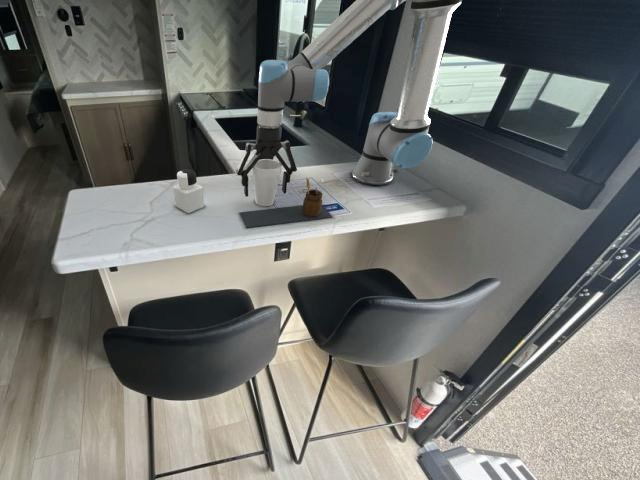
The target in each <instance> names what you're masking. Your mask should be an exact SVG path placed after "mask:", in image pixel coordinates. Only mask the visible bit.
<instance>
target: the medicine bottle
mask: <svg viewBox="0 0 640 480" xmlns="http://www.w3.org/2000/svg"><path fill="white" fill-rule="evenodd" d="M176 178H177V179H176V180H177V184H176V185H174V186H173V187H172V190H173V195H174V196H173V197H174V203H175V207H176V208H178V209H179V210H181V211H183V212H185V213H187V214H191V213H193V212H195V211H197V210H200V209H202V208H205V197H204V187H203V186H201V185H200V184H198V181H197V172H196V171H195V170H194V169H193V170H192V169H185V168H184V169H181V170H179V171H178V172H177V173H176Z"/></svg>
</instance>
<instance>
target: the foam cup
mask: <svg viewBox="0 0 640 480" xmlns="http://www.w3.org/2000/svg"><path fill="white" fill-rule="evenodd" d="M282 167H283V165H282V164H281V163H280V161H279V160H276V159H273V160H271V159H261V160H259V161H258V162H257V163H256V164H255V165H254V167H253V168H252V169H251V173H252V178H253V179H252V181H253V190H254V200H255V204H256V205H258V206H260V207H269V206H272V205H274V202H275V197H276V193H277V189H278V184H279V180H280V175H281V173H282Z"/></svg>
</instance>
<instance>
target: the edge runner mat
mask: <svg viewBox="0 0 640 480" xmlns="http://www.w3.org/2000/svg"><path fill="white" fill-rule="evenodd" d="M302 208H303V204H300V205H292V206H283V207H282V206H281V207H275V208H266V209H257V210H248V211H240V212H238V214H239V216H240V218H241V220H242V222H243V225H244V226H245V229H250V228H251V229H252V228H260V227H268V226H269V227H270V226H276V225H284V224H293V223H299V222H309V221H316V220H324V219H332V218H333V216H332V214H331V213H330V212H329V211H328V210H327V209H326V208H325V207H324V206H323V205H322V206H321V211H320V214H319V215H318V216H316V217H308V216H306V215H304V214H303V212H302Z"/></svg>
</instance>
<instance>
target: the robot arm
mask: <svg viewBox="0 0 640 480" xmlns="http://www.w3.org/2000/svg"><path fill="white" fill-rule="evenodd" d="M406 1H407V0H355V1H354V2H352V4H351V5H349V7H347V8H346V9H345V10H343V12H342V13H341V14H340V15H339V16H338V17H336V19H335V20H334V21H332V23H331V24H329V25H328V26H327V27H326V28H325V29H324V30H323V31H322V32H321V33H320V34H318V36H316V37H315V39H313V40H312V42H310V43H309V44H308V45H307V46H306V47H304V49H303V50H302V51H300V53H298V54H297V55H296V56H295V57H294V58H293V59H289V60H282V59H281V60H280V59H266V60H264V61H261V63H260V65H259V73H258V81H257V83H258V93H257V94H258V95H257V115H256V116H257V119H256V123H257V126H256V137H255V139H256V140H255V143H252V142H249V141H247V142H246V143H245V150H244V152H243V154H242V156H241V158H240V160H239V163H238V165H237V167H236V169H235V172H236V175H237V176H240V177H241V186H242V187H243V192H244V196H245V197H248V196H249V173H250V172H251V171H252V168H253V167H254V165H255V164H256V163H257V162H258V161H259V160H260V159H261V158H273V157H274V158H275V157H276V159H277V161H278V162H280V163H281V164H282V167H283V168H284V170H285V171H283V172H282V173H283V175H282V183H281V191H282V193H283V194H287V189H288V188H287V187H288V184H290V182H291V176H292V174H293V173H296V172H297V171H298V168H297V165H296V162H295V159H294V156H293V153H292V150H291V142H290V141H289V140H288V139H286V140H284V141H282V134H283V133H282V131H283V127H282V125H283V121H284V109H285V103H286V102H287V103H290V102H291V103H292V102H293V103H294V102H312V103H313V102H318V101H323V100H324V99H325V98H326V96H327V94H328V93H329V86H330V75H329V73H328V71H327V70H326V69H324V68H325V67H326V66H327V65H328V64H329V63H331V61H332V60H334V59H336V57H337V56H338V55H340V53H342V52H343V51H344V50H345V49H346V48H347V47H349V45H351V44H352V43H353V41H355V40H356V39H357V38H358V37H360V36H361V35H362V34H363V33H364V32H365V31H366V30H367V29H369V27H371V26H372V25H373V24H374V23H375V22H376V21H377V20H379V19H380V18H381V17H382V16H384V15H385V14H386V12H388V11H389V10H391V11H394V10H395V9H396V8H398V7H399V6H400V5H401V4H403V3H404V2H406ZM462 1H463V0H411V3H410V8H409V9H410V11H411V13H412V14H413V16H414V21H413V27H412V31H411V38H410V42H409V46H408V47H409V48H408V52H407V57H406V63H405V69H404V75H403V79H402V85H401V91H400V96H399V100H398V106H397V111H379V112H376V113H374V114H372V116H371V119H370V120H369V121H370V122H369V124H368V129H367V133H366V137H365V141H364V146H363V149H362V153H361V156H360V157H359V159H358V161H357V163H356V165H355V166H354V168H353V170H352V172H351V177H352V178H353V179H354V181H356V182H358V183H361V184H364V185H368V186H369V185H370V186H386V185H389V184H391V182H392V181H393V178H394V172H397V171H398V168H400V169H410V168H414V167H416V166H418V165H419V164H420V163H422V161H424V160H425V159H426V158H427V157H428V156H429V154H430V152H431V151H432V148H433V144H434V141H433V138H432V136H431V134H429V129H430V126H431V118H429V116H428V112H429V108H430V103H431V99H432V96H433V92H434V88H435V84H436V79H437V75H438V72H439V68H440V63H441V59H442V56H443V51H444V48H445V44H446V38H447V34H448V31H449V28H450V27H449V26H450V22H451V18H452V14H453V12H455V10H456V9H457V8H458V7H459V6H460V5H461V4H462ZM254 149H255V152H254V153H253V156H252V157H251V159H249V157H250V155H251V153H252V152H253V151H254ZM281 149H283V150H284V152H285V154H286V157H287V159H288V162H289V165H290V167H289V165H288V164H287V163H286V161H285V160H284V158H283V157H282V156H281V154H280V153H279V151H281ZM256 150H257V151H256ZM274 158H273V159H274ZM248 159H249V161H248ZM247 162H248V163H247ZM394 166H396V167H398V168H394Z"/></svg>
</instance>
